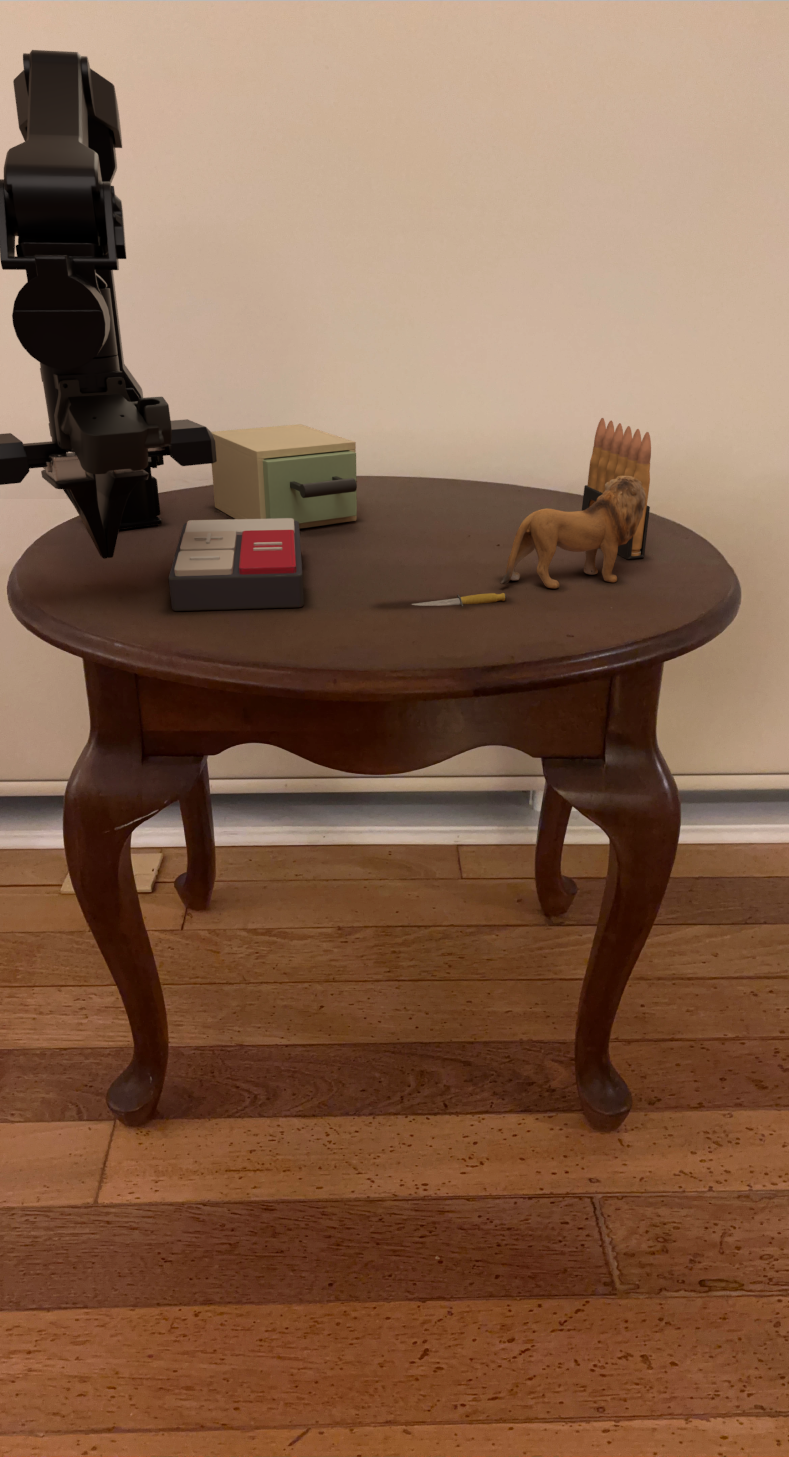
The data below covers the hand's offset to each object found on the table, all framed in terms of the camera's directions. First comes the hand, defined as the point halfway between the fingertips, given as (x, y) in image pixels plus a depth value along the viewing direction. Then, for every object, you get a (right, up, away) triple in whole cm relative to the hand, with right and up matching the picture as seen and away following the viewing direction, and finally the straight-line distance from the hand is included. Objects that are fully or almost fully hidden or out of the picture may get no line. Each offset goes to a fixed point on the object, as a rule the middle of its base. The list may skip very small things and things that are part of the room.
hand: (106, 557), depth 77 cm
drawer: (+13, +10, +26) cm, 31 cm away
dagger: (+28, -4, +3) cm, 29 cm away
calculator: (+10, -1, +7) cm, 12 cm away
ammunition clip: (+46, +5, +19) cm, 50 cm away
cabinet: (+11, +10, +30) cm, 33 cm away
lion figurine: (+40, -1, +9) cm, 41 cm away
